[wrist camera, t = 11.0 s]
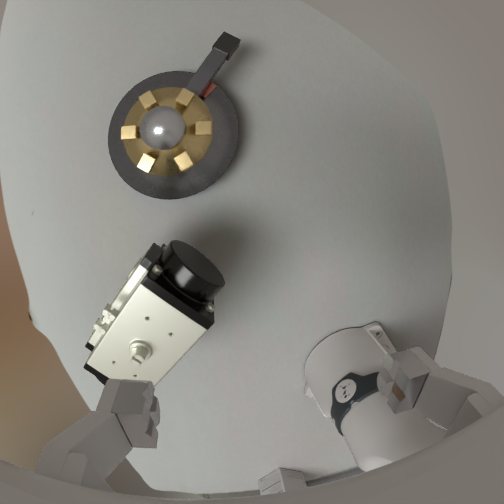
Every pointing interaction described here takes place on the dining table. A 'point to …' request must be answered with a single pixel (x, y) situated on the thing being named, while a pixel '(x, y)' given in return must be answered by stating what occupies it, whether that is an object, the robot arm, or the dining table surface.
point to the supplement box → (281, 481)
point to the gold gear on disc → (174, 138)
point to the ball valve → (155, 315)
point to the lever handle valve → (189, 109)
